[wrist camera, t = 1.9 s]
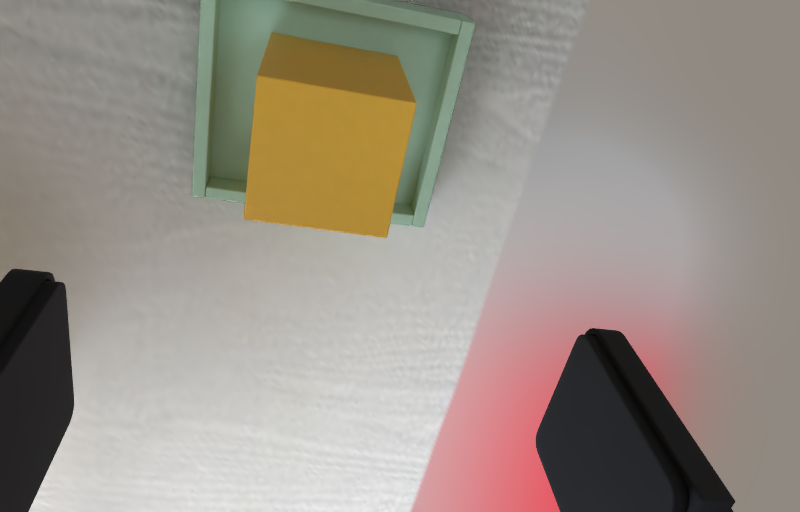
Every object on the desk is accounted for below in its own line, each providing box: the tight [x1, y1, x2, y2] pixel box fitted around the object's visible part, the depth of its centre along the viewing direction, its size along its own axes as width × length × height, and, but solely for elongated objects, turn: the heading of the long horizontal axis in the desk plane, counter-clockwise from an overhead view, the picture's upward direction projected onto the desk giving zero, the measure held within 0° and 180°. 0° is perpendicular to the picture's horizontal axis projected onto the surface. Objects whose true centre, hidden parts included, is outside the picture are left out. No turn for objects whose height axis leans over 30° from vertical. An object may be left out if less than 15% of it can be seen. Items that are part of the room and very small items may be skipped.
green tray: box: [192, 0, 475, 227], centre depth 23 cm, size 9×8×2 cm
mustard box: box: [244, 32, 417, 238], centre depth 21 cm, size 4×4×6 cm
